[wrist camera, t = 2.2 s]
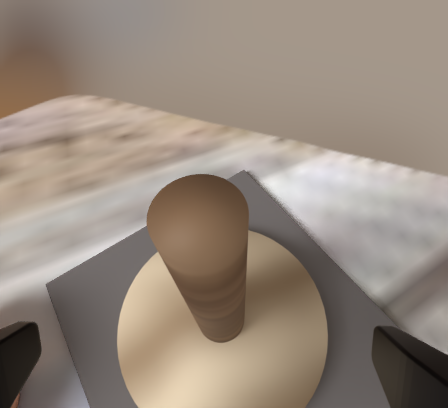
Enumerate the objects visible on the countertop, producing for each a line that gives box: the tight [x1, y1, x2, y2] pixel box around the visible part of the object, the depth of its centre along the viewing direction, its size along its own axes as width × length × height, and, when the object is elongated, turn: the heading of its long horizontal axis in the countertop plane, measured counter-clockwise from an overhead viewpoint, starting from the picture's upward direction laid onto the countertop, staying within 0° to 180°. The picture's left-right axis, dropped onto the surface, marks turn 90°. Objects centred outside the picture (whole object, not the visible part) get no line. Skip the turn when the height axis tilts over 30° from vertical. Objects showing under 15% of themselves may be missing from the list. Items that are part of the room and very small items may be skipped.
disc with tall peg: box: [117, 174, 328, 408], centre depth 13 cm, size 12×12×12 cm
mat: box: [46, 170, 399, 408], centre depth 18 cm, size 17×16×1 cm
